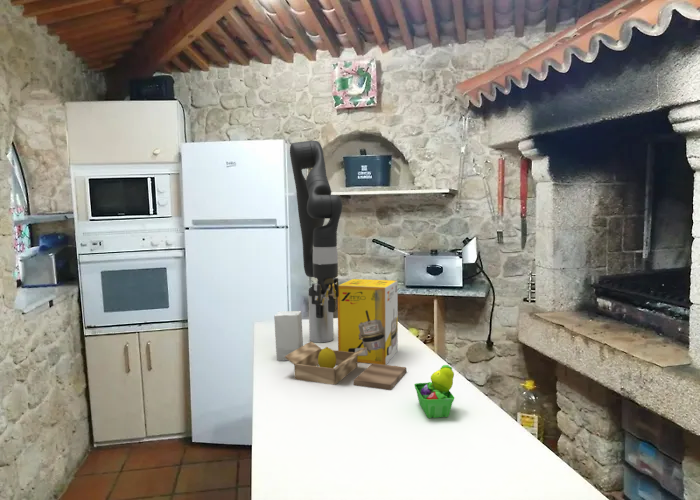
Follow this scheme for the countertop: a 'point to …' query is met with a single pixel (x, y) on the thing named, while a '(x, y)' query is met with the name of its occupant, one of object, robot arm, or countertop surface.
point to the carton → (309, 371)
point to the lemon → (327, 358)
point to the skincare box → (288, 333)
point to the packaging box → (368, 319)
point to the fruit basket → (437, 393)
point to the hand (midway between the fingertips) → (325, 314)
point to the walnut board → (380, 376)
